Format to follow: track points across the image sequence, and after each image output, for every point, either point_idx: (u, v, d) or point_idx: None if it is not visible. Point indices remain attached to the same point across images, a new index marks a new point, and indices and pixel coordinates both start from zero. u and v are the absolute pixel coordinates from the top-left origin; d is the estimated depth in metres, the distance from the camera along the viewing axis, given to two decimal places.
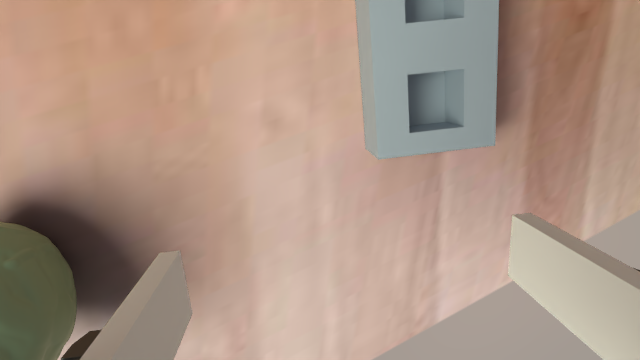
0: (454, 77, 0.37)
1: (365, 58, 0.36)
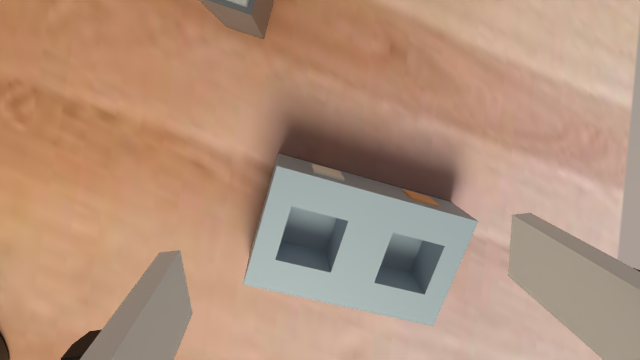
0: None
1: None
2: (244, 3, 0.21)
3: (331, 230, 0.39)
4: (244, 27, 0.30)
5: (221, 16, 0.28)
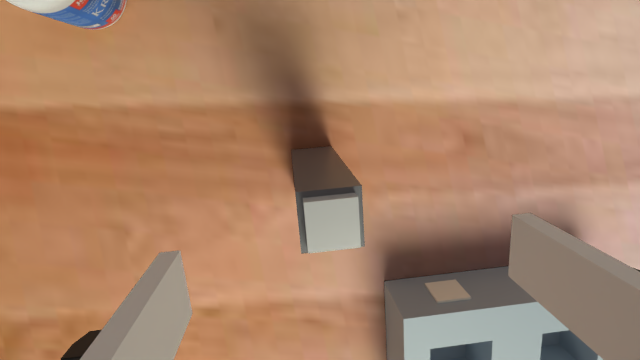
0: None
1: None
2: (358, 246, 0.19)
3: None
4: None
5: None
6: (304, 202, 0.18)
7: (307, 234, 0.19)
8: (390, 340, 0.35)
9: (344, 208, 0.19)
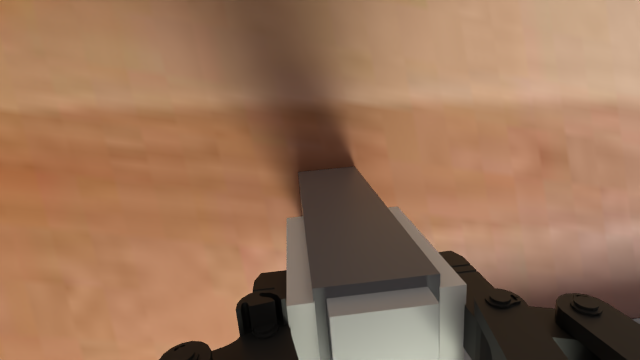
0: None
1: None
2: None
3: None
4: None
5: None
6: (331, 316, 0.09)
7: None
8: None
9: (411, 325, 0.09)
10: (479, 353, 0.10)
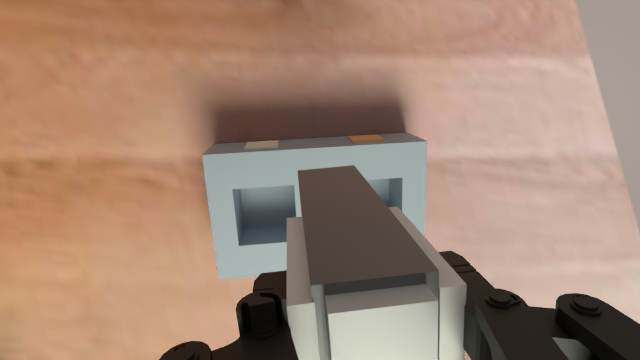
0: None
1: None
2: None
3: (293, 200, 0.38)
4: None
5: None
6: (330, 313, 0.09)
7: None
8: None
9: (409, 322, 0.09)
10: (479, 353, 0.10)
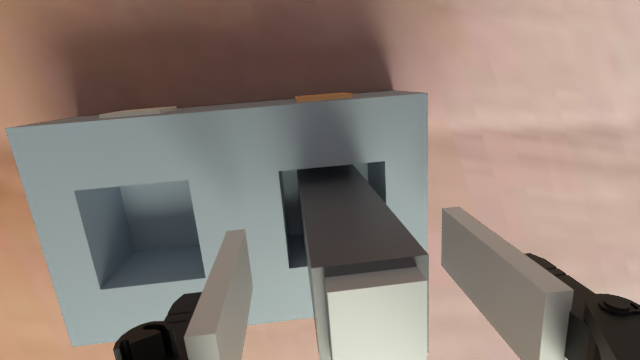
0: None
1: None
2: None
3: None
4: None
5: None
6: (329, 292, 0.10)
7: (333, 345, 0.10)
8: None
9: (401, 300, 0.10)
10: (586, 358, 0.09)
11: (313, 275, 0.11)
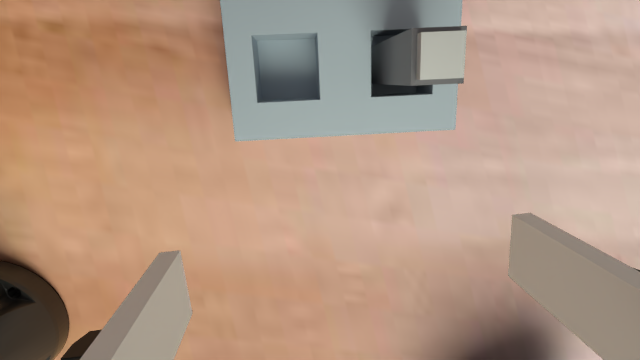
0: (374, 33, 0.33)
1: None
2: (462, 77, 0.23)
3: (314, 71, 0.36)
4: None
5: None
6: (422, 32, 0.22)
7: (421, 62, 0.23)
8: None
9: (454, 40, 0.22)
10: None
11: (412, 31, 0.23)
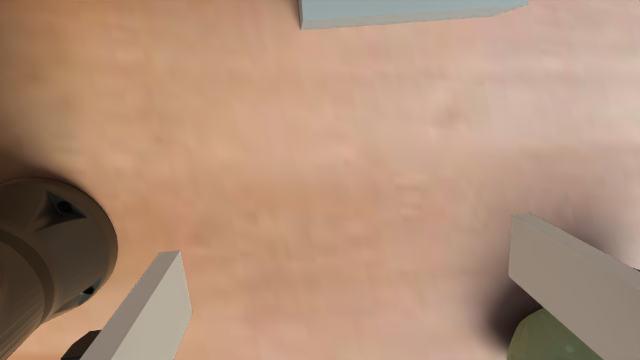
0: None
1: (410, 17, 0.34)
2: None
3: None
4: None
5: None
6: None
7: None
8: None
9: None
10: None
11: None
